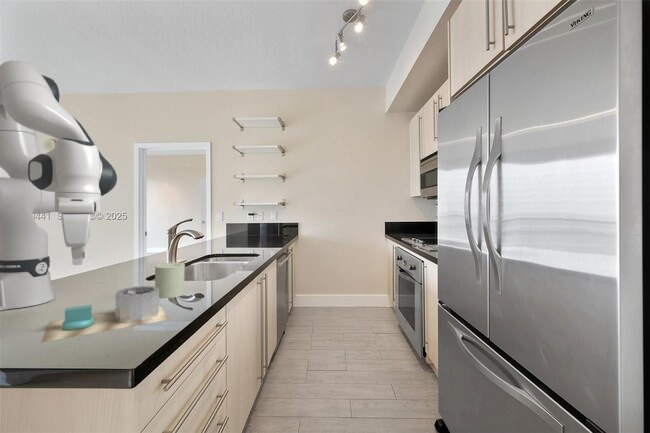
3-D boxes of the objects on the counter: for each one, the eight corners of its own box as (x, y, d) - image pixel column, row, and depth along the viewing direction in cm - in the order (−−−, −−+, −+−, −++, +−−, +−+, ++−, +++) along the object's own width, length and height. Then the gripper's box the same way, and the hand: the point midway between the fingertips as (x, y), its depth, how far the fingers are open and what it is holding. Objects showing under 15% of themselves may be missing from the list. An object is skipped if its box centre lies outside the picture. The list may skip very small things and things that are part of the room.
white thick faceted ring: (106, 322, 78) (106, 295, 78) (133, 309, 88) (133, 285, 88) (143, 323, 78) (143, 296, 78) (166, 311, 88) (166, 286, 87)
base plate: (41, 348, 66) (41, 342, 66) (50, 327, 78) (50, 322, 78) (168, 325, 81) (169, 319, 81) (160, 310, 92) (160, 305, 92)
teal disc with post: (61, 332, 71) (61, 313, 71) (64, 324, 76) (64, 306, 76) (93, 327, 75) (93, 309, 75) (94, 319, 80) (94, 302, 80)
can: (182, 301, 101) (182, 265, 101) (151, 303, 99) (151, 266, 98) (186, 294, 110) (186, 261, 110) (158, 295, 107) (158, 261, 107)
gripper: (65, 205, 81) (66, 257, 82) (56, 204, 65) (57, 269, 65) (95, 205, 85) (95, 255, 85) (93, 205, 69) (94, 266, 69)
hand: (79, 261), depth 75 cm, fingers open, 8 cm apart
